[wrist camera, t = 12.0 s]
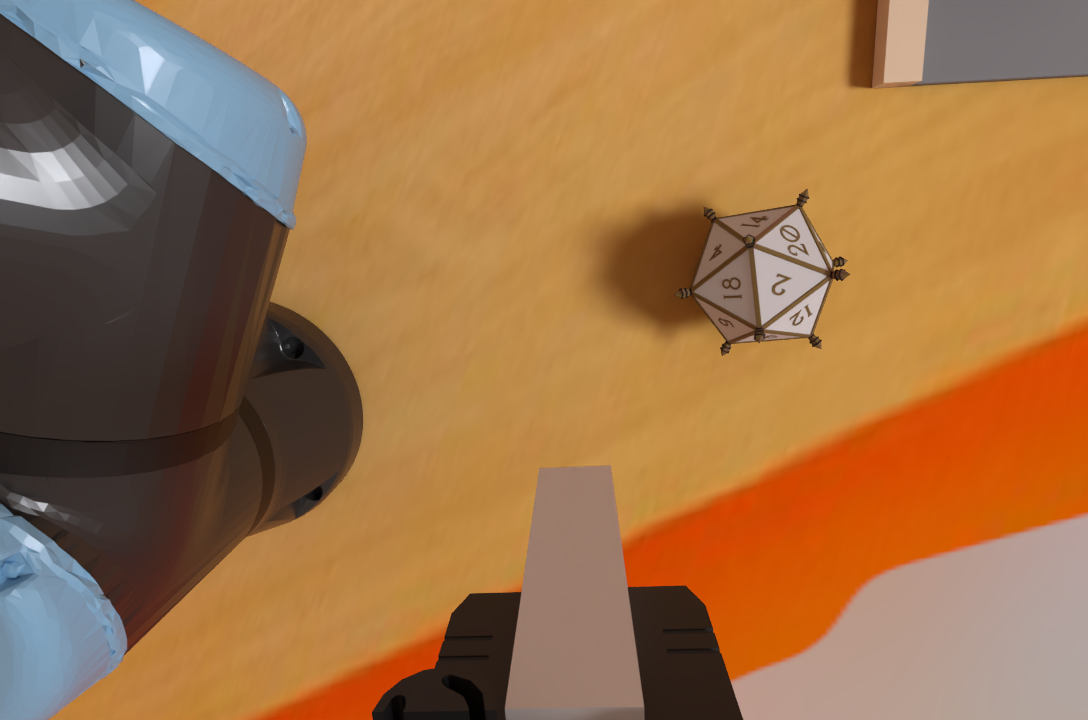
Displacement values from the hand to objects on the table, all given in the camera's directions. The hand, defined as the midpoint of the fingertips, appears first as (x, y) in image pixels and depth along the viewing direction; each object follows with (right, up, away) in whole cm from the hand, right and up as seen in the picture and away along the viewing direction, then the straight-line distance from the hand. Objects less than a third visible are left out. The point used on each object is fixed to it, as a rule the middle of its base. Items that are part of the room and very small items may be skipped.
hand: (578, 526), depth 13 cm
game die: (+11, +9, +25) cm, 29 cm away
